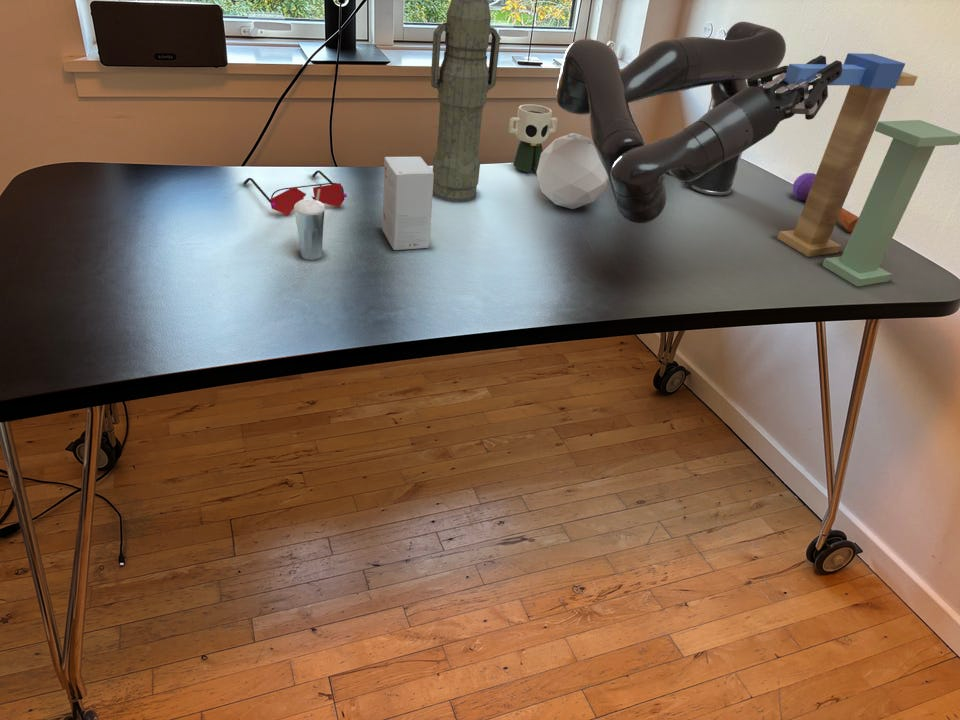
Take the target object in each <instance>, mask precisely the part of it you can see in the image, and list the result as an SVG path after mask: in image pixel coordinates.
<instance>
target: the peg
mask: <svg viewBox="0 0 960 720" xmlns="http://www.w3.org/2000/svg"><path fill="white" fill-rule="evenodd" d="M829 64H830V63H829ZM829 64H827V63H826V64H806V63H788V65H787V66H788V69H787V72H786V75H785V80H784V81H785V82H787V83H790V84H791V83H793V82H795V81H798V80H800V79H804V80H805V79H807V78H809V77H810V76H812V75H814V74H817V72H819V71H820V70H822V69H823V68H825V67H826V66H828V65H829ZM843 64H844V65H842V73H841V76H840V77H839V78H837V79H836V80H834V81H832V82H831V83H829V84H828V86H850V85H860V86H863V87H866V88H869V89H891V90H892V89H894V90H895V89H896V87H897V86H896V85H897V82H898V80H899V78H900V75H901V73H902V72H904V68H905V66H906V63H905V62H902V61H899V60H895V59H891V58H889V57H885V56H881V55H879V54H875V53H853V52H848V53H847V54H846V57H845V59H844V62H843ZM811 86H813V84H812V85H811Z"/></svg>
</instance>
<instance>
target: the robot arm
mask: <svg viewBox="0 0 960 720" xmlns="http://www.w3.org/2000/svg"><path fill="white" fill-rule="evenodd" d="M786 52H787V45H786V40H785V38H784V37H783V35H782V34H781V33H780V32H778V30H775V29H773V28H771V27H768V26H764V25H760V24H757V23H753V22H749V21H739V22H735V23H734V24H732V26H731V27H730V28H729V29H728V30H727V31H726V33H725V35H724V36H723V38H722V39H721V38H714V37H703V36H701V37H700V36H684V37H683V36H682V37H676V38H669V39H665V40H661V41H658V42H656V43H654V44H652V45H650V46H649V47H647V48H646V49H645V50H644V51H642V52H641V53H640V54H638V55H637V57H635V58H634V59H633V60H632V61H630V62H629V63H628V64H626V66H624V67H623V68H622V69H620V63H619V59H618V56H617V54H616V52H615V51H614V49H612V47H610V46H609V45H608V44H606V43H604V42H603V41H599V40H597V39H591V38H589V39H588V38H584V39H583V38H582V39H577V40H575V41H573V42H572V43H571V44H569V46H568V47H567V49H566V51H565V53H564V57H563V59H562V64H561V68H560V73H559V77H558V81H557V86H556V92H555V98H556V103H557V105H558V106H559V107H560V109H562V110H563V111H564V112H567V113H569V114H573V115H577V116H579V115H581V116H587V115H589V127H590V136H591V139H592V140H593V144H594V147H595V149H596V151H597V154H598V156H599V158H600V161H601V163H602V165H603V167H604V168H605V171H606V173H607V175H608V182H609V185H610V188H611V192H612V196H613V199H614V201H615V204H616V207H617V210H618V212H619V213H620V215H621V216H622V217H623V218H624V219H626V220H627V221H629V222H631V223H634V224H647V223H650V222H653V221H655V220H656V219H658V217H659V216H660V215H661V214H662V213H663V211H664V209H665V207H666V204H667V192H666V186H665V180H664V175H665V174H666V173H668V172H671V173H672V175H673V176H674V177H675V178H676V179H677V180H679V181H680V182H683V183H686V188H689V189H692V190H694V191H696V192H699V193H702V194H706V195H711V196H727V195H729V194H730V193H731V191H732V187H733V185H734V182H735V177H736V174H737V171H738V168H739V164H740V162H741V158H742V155H743V153H744V152H746V150H748V149H749V148H751V147H752V146H754V145H755V144H757V143H758V142H761V141H762V140H764V139H765V138H767V137H769V136H771V134H772V133H773V132H775V130H776V128H777V127H778V125H779V124H780V123H781V122H782V121H784V120H787V119H791V118H793V117H794V116H795V115H804V119H805V120H808V121H810V120H813V119H814V118H815V117H816V116H817V114H818V113H819V111H820V110H821V108H822V106H823V105H824V103H825V102H826V101H827V99H828V97H829V85H828V84H829V83H831V82H832V81H834V80H836V79H837V78H839V77H840V76H841V73H842V64H843V62H842V61H841V60H837V59H836V60H834V61H833V62H831V63H829V65H828V66H826V67H825V68H823V69H822V70H820V71H819V72H817V74H814V75H812V76H810V77H809V78H807V79H805V80H804V79H800V80H798V81H795V82H793V83H791V84H790V83H787V82H785V81H784V80H785V75H786V72H787V69H788V66H789V65H783V66H780V65H781V64H782V62H783V61H784V59H785V55H786ZM805 64H827V56H825V55H822V54H820V55H819V56H817V57H815V58H812V59H811V60H809V61H807V62H806V63H805ZM774 77H775V78H774ZM812 84H813V85H812ZM710 85H711V86H710ZM704 86H710V95H711V97H710V101H709V105H708V110H707V112H706V113H704V114H703V115H702V116H701V117H700V118H699V119H697V120H696V121H694V122H693V123H691V124H690V125H688V126H686V127H685V128H683V129H681V130H680V131H679V132H677V133H675V134H674V135H671V136H669V137H666V138H662V139H659V140H656V141H653V142H650V143H646V141H645V138H644V136H643V134H642V132H641V131H640V128H639V127H638V125H637V123H636V121H635V118H634V116H633V114H632V111H631V109H630V105H629V103H633V102H635V101H640V100H644V99H647V98H652V97H656V96H661V95H668V94H669V95H670V94H673V93H679V92H683V91H688V90H692V89H695V88H696V89H697V88H700V87H704ZM810 86H812V88H810V89H809V87H810Z"/></svg>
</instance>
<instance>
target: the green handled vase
mask: <svg viewBox="0 0 960 720" xmlns="http://www.w3.org/2000/svg"><path fill="white" fill-rule="evenodd" d="M445 18H446V20H445V22H443V23H438V25H437V27H436V28H435V29H434V31H433V32H432V33H433V36H432V52H431V53H432V54H431V69H430V71H431V72H430V85H431V87H432V88H433V89H437V100H438V103H439V112H438V113H439V115H438V116H439V117H438V128H437V130H438V131H437V142H436V143H437V145H436V152H435V154H434V156H433V159H432V160H433V161H432V172H433V173H434V182H433V196H435V197H436V198H438V199H440V200H443V201H446V202H453V203H463V202H469V201H472V200H474V199H475V198H476V196H477V188H478V187H477V186H478V184H479V178H480V169H481V161H480V157H479V151H480V141H481V130H482V121H483V111H484V110H483V109H484V108H485V105H486V104H487V97H488V93H489V91H490V90H492V89H493V88H494V87H495V86H496V81H497V72H498V71H497V70H498V62H499V52H500V46H501V45H500V44H501V37H500V35H499V33H498V31H497V29H496V28H495V27H493V26H491V24H492V23H491V22H492V21H491V20H492V15H491V10H490V4H489V0H450V3H449V5H448V8H447V10H446V17H445ZM443 32H445V34H444V35H445V36H444V44H445V50H444V52H443V59H442V61H441V65H440V60H441V59H440V57H441V39H442V38H441V37H442V34H443ZM490 35H491V43H490V52H489V63H487V62H488V55H487V51H488V48H489V41H490Z"/></svg>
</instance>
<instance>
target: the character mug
mask: <svg viewBox="0 0 960 720" xmlns="http://www.w3.org/2000/svg"><path fill="white" fill-rule="evenodd" d="M508 123H509V124H508V133H509V134H515V137H516V139H518V140H519V142H518V144H517V147H516V151H515V154H514V158H513V162H512V164H513V167H515V168H516V169H517V170H518V171H522V172H525V173H526V172H527V173H531V172H532V170H534V173H536V172H537V168H538V164H539V160H540V155H541V153H542V152H543V145H542V144H543V143H545V142H546V141H547V140H548V139H549V137H550V134H554V133H556V132H557V127H558V118H557V117H555V116H554V117H553V110H552V109H551V108H549V107H547V106H544V105H541V104H531V103H526V104H521V105H519V106H518V109H517V117H516V116H512V117H510V119H509V122H508ZM515 123H516V126H515V128H514V124H515ZM551 123H552V124H551ZM551 125H552V126H551Z"/></svg>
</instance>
